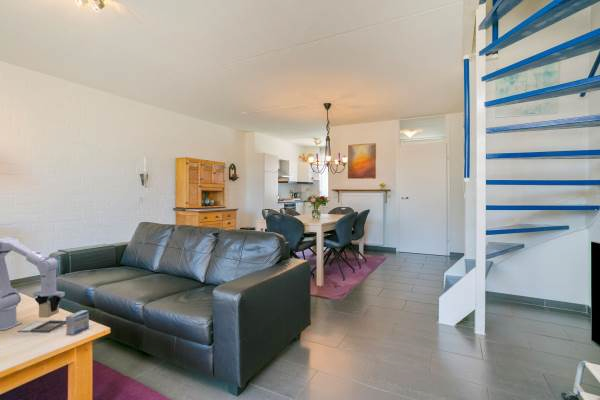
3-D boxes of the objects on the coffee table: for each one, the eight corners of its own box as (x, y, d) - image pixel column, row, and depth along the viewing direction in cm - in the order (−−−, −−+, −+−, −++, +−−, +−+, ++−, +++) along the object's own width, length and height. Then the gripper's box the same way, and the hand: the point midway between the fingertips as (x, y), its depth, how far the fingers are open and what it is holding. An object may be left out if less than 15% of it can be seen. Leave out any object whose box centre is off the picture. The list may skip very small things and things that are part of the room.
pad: (17, 331, 139) (17, 330, 139) (37, 322, 149) (37, 321, 149) (29, 332, 138) (29, 331, 138) (48, 322, 148) (48, 321, 148)
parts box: (39, 317, 140) (38, 304, 140) (50, 312, 146) (50, 300, 146) (48, 317, 140) (47, 305, 140) (58, 312, 146) (58, 300, 146)
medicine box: (73, 335, 135) (73, 317, 135) (65, 334, 136) (65, 316, 136) (89, 327, 143) (89, 310, 143) (81, 327, 144) (81, 309, 144)
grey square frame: (30, 332, 138) (30, 329, 138) (50, 322, 148) (50, 320, 148) (48, 332, 138) (48, 329, 138) (66, 323, 148) (66, 320, 148)
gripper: (26, 285, 139) (26, 313, 139) (55, 286, 139) (56, 314, 139) (40, 281, 146) (40, 308, 146) (68, 281, 146) (68, 308, 146)
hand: (49, 310), depth 143 cm, fingers closed on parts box, 4 cm apart
